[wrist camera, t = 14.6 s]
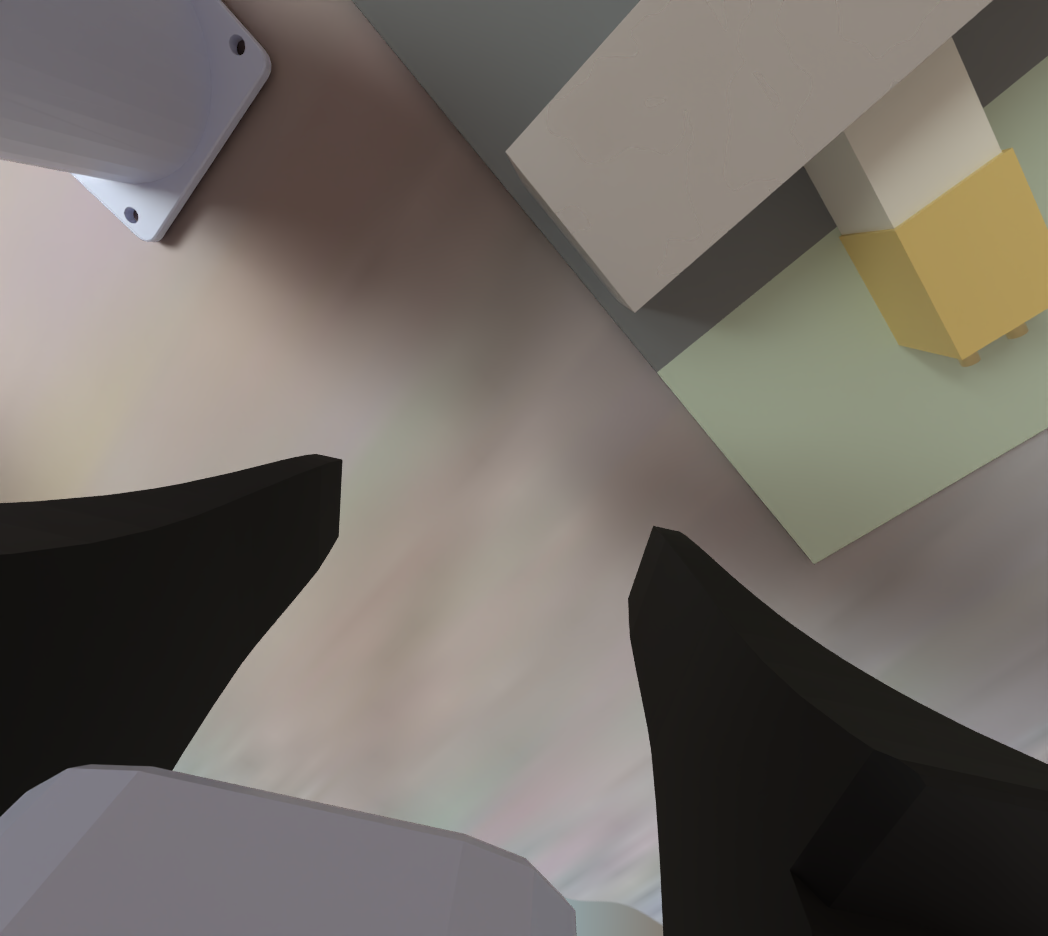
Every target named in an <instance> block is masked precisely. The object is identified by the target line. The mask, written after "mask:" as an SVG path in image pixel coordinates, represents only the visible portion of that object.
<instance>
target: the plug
mask: <svg viewBox="0 0 1048 936" xmlns="http://www.w3.org/2000/svg"><path fill="white" fill-rule="evenodd" d="M804 168H805V169H806V171H807V173H808V175H809V177H810V178H811V180H812V182H813V184H814V186H815V187H816V189H817V191H818V193H819V195H820V196H821V198H822V200H823V202H824V204H825V206H826V207H827V209H828V211H829V213H830V215H831V216H832V218H833V220H834V222H835V224H836V225H837V227H838V229H839V231H840V233H841V234H842V235H841V236H840V237H839V238H840V240H841V242H842V244H843V245H844V247H845V249H846V251H847V253H848V254H849V256H850V258H851V260H852V262H853V263H854V265H855V267H856V269H857V271H858V272H859V274H860V276H861V278H862V280H863V281H864V283H865V285H866V287H867V289H868V291H869V292H870V294H871V296H872V298H873V300H874V301H875V303H876V305H877V307H878V309H879V310H880V312H881V314H882V316H883V318H884V319H885V321H886V323H887V325H888V327H889V328H890V330H891V332H892V334H893V336H894V337H895V339H896V341H897V343H898V345H900V346H904V347H909V348H913V349H917V350H922V351H926V352H930V353H934V354H939V355H943V356H947V357H951V358H956V359H958V361H959V363H960V365H961V366H962V367H968V366H972V365H974V364H976V363H978V362H979V361H980V360H981V358H980V356H979V354H978V352H977V351H978V350H980V349H981V348H983V347H985V346H986V345H988V344H990V343H991V342H993V341H995V340H996V339H998V338H1000V337H1001V336H1003V335H1006V337H1007V338H1008V339H1015V338H1018V337H1021V336H1023V335H1025V334H1026V333H1028V331H1029V330H1028V328H1027V325H1026V323H1025V322H1026V321H1028V320H1030V319H1031V318H1033V317H1035V316H1036V315H1038V314H1039V313H1041V312H1043V311H1044V310H1046V309H1048V229H1047V227H1046V224H1045V222H1044V220H1043V217H1042V215H1041V213H1040V210H1039V208H1038V206H1037V203H1036V201H1035V199H1034V196H1033V194H1032V192H1031V189H1030V187H1029V185H1028V182H1027V180H1026V178H1025V175H1024V173H1023V171H1022V168H1021V166H1020V164H1019V161H1018V159H1017V157H1016V154H1015V152H1014V150H1013V147H1012V148H1008V149H1005V150H1001V149H1000V146H999V144H998V142H997V140H996V137H995V135H994V133H993V130H992V128H991V126H990V124H989V121H988V119H987V117H986V114H985V112H984V110H983V107H982V105H981V103H980V101H979V98H978V96H977V94H976V91H975V89H974V87H973V85H972V82H971V80H970V78H969V75H968V73H967V71H966V68H965V66H964V64H963V62H962V59H961V57H960V55H959V52H958V50H957V48H956V46H955V43H954V41H953V39H952V36H951V37H950V38H949V39H948V40H947V41H946V42H944V43H943V44H942V45H941V46H940V47H939V48H938V49H936V50H935V51H934V52H933V53H932V54H931V55H930V56H928V57H927V58H926V59H925V60H924V61H923V62H922V63H920V64H919V65H918V66H917V67H916V68H915V69H914V70H912V71H911V72H910V73H909V74H908V75H907V76H906V77H904V78H903V79H902V80H901V81H900V82H899V83H898V84H896V85H895V86H894V87H893V88H892V89H891V90H889V91H888V92H887V93H886V94H885V95H884V96H883V97H881V98H880V99H879V100H878V101H877V102H876V103H875V104H873V105H872V106H871V107H870V108H869V109H868V110H867V111H865V112H864V113H863V114H862V115H861V116H860V117H859V118H857V119H856V120H855V121H854V122H853V123H852V124H851V125H849V126H848V127H847V128H846V129H845V130H844V131H843V132H841V133H840V134H839V135H838V136H837V137H836V138H835V139H833V140H832V141H831V142H830V143H829V144H828V145H826V146H825V147H824V148H823V149H822V150H821V151H820V152H818V153H817V154H816V155H815V156H814V157H813V158H812V159H810V160H809V161H808V162H807V163H806V164H805V165H804Z"/></svg>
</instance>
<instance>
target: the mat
mask: <svg viewBox="0 0 1048 936" xmlns="http://www.w3.org/2000/svg"><path fill="white" fill-rule="evenodd" d="M352 1H353V2H354V4H355V5H356V6H357V7H358V8H359V10H360V11H361V12H362V13H363V15H364V16H365V17H366V18H367V19H368V21H369V22H370V23H371V24H372V26H373V27H374V28H375V29H376V30H377V32H378V33H379V34H380V35H381V36H382V38H383V39H384V40H385V41H386V43H387V44H388V45H389V46H390V47H391V49H392V50H393V51H394V52H395V54H396V55H397V56H398V57H399V58H400V60H401V61H402V62H403V63H404V65H405V66H406V67H407V68H408V69H409V71H410V72H411V73H412V74H413V76H414V77H415V78H416V79H417V80H418V82H419V83H420V84H421V85H422V87H423V88H424V89H425V90H426V91H427V93H428V94H429V95H430V96H431V98H432V99H433V100H434V101H435V102H436V104H437V105H438V106H439V107H440V108H441V110H442V111H443V112H444V113H445V115H446V116H447V117H448V118H449V119H450V121H451V122H452V123H453V124H454V126H455V127H456V128H457V129H458V130H459V132H460V133H461V134H462V135H463V137H464V138H465V139H466V140H467V141H468V143H469V144H470V145H471V146H472V148H473V149H474V150H475V151H476V152H477V154H478V155H479V156H480V157H481V159H482V160H483V161H484V162H485V163H486V165H487V166H488V167H489V168H490V170H491V171H492V172H493V173H494V174H495V176H496V177H497V178H498V179H499V180H500V182H501V183H502V184H503V185H504V187H505V188H506V189H507V190H508V191H509V193H510V194H511V195H512V196H513V198H514V199H515V200H516V201H517V202H518V204H519V205H520V206H521V207H522V209H523V210H524V211H525V212H526V213H527V215H528V216H529V217H530V218H531V220H532V221H533V222H534V223H535V224H536V226H537V227H538V228H539V229H540V231H541V232H542V233H543V234H544V235H545V237H546V238H547V239H548V240H549V242H550V243H551V244H552V245H553V246H554V248H555V249H556V250H557V251H558V252H559V254H560V255H561V256H562V257H563V259H564V260H565V261H566V262H567V263H568V265H569V266H570V267H571V268H572V270H573V271H574V272H575V273H576V274H577V276H578V277H579V278H580V279H581V281H582V282H583V283H584V284H585V285H586V287H587V288H588V289H589V290H590V292H591V293H592V294H593V295H594V296H595V298H596V299H597V300H598V301H599V303H600V304H601V305H602V306H603V307H604V309H605V310H606V311H607V312H608V314H609V315H610V316H611V317H612V318H613V320H614V321H615V322H616V323H617V324H618V326H619V327H620V328H621V329H622V331H623V332H624V333H625V334H626V335H627V337H628V338H629V339H630V340H631V342H632V343H633V344H634V345H635V346H636V348H637V349H638V350H639V351H640V353H641V354H642V355H643V356H644V357H645V359H646V360H647V361H648V362H649V364H650V365H651V366H652V367H653V368H654V370H655V371H656V372H657V373H658V375H659V376H660V377H661V378H662V379H663V381H664V382H665V383H666V384H667V386H668V387H669V388H670V389H671V390H672V392H673V393H674V394H675V395H676V396H677V398H678V399H679V400H680V401H681V403H682V404H683V405H684V406H685V407H686V409H687V410H688V411H689V412H690V414H691V415H692V416H693V417H694V418H695V420H696V421H697V422H698V423H699V425H700V426H701V427H702V428H703V429H704V431H705V432H706V433H707V434H708V436H709V437H710V438H711V439H712V440H713V442H714V443H715V444H716V445H717V447H718V448H719V449H720V450H721V451H722V453H723V454H724V455H725V456H726V458H727V459H728V460H729V461H730V462H731V464H732V465H733V466H734V467H735V468H736V470H737V471H738V472H739V473H740V475H741V476H742V477H743V478H744V479H745V481H746V482H747V483H748V484H749V486H750V487H751V488H752V489H753V490H754V492H755V493H756V494H757V495H758V497H759V498H760V499H761V500H762V501H763V503H764V504H765V505H766V506H767V508H768V509H769V510H770V511H771V512H772V514H773V515H774V516H775V517H776V519H777V520H778V521H779V522H780V523H781V525H782V526H783V527H784V528H785V530H786V531H787V532H788V533H789V534H790V536H791V537H792V538H793V539H794V540H795V542H796V543H797V544H798V545H799V547H800V548H801V549H802V550H803V551H804V553H805V554H806V555H807V556H808V558H809V559H810V560H811V561H812V562H813V564H815V563H817V562H819V561H821V560H822V559H824V558H826V557H827V556H829V555H831V554H833V553H834V552H836V551H838V550H839V549H841V548H843V547H845V546H846V545H848V544H850V543H851V542H853V541H855V540H857V539H858V538H860V537H862V536H863V535H865V534H867V533H869V532H870V531H872V530H874V529H875V528H877V527H879V526H880V525H882V524H884V523H886V522H887V521H889V520H891V519H892V518H894V517H896V516H898V515H899V514H901V513H903V512H904V511H906V510H908V509H910V508H911V507H913V506H915V505H916V504H918V503H920V502H922V501H923V500H925V499H927V498H928V497H930V496H932V495H934V494H935V493H937V492H939V491H940V490H942V489H944V488H946V487H947V486H949V485H951V484H952V483H954V482H956V481H958V480H959V479H961V478H963V477H964V476H966V475H968V474H969V473H971V472H973V471H975V470H976V469H978V468H980V467H981V466H983V465H985V464H987V463H988V462H990V461H992V460H993V459H995V458H997V457H999V456H1000V455H1002V454H1004V453H1005V452H1007V451H1009V450H1011V449H1012V448H1014V447H1016V446H1017V445H1019V444H1021V443H1023V442H1024V441H1026V440H1028V439H1029V438H1031V437H1033V436H1035V435H1036V434H1038V433H1040V432H1041V431H1043V430H1045V429H1046V428H1048V309H1046V310H1044V311H1043V312H1041V313H1039V314H1038V315H1036V316H1035V317H1033V318H1031V319H1030V320H1028V321H1026V322H1025V323H1026V325H1027V328H1028V330H1029V331H1028V333H1026V334H1025V335H1023V336H1021V337H1018V338H1015V339H1008V338H1007V337H1006V335H1003V336H1001V337H1000V338H998V339H996V340H995V341H993V342H991V343H990V344H988V345H986V346H985V347H983V348H981V349H980V350H978V351H977V352H978V354H979V356H980V358H981V360H980V361H979V362H978V363H976V364H974V365H972V366H968V367H962V366H961V365H960V363H959V361H958V359H956V358H951V357H947V356H943V355H939V354H934V353H930V352H926V351H922V350H917V349H913V348H909V347H904V346H900V345H898V343H897V341H896V339H895V337H894V336H893V334H892V332H891V330H890V328H889V327H888V325H887V323H886V321H885V319H884V318H883V316H882V314H881V312H880V310H879V309H878V307H877V305H876V303H875V301H874V300H873V298H872V296H871V294H870V292H869V291H868V289H867V287H866V285H865V283H864V281H863V280H862V278H861V276H860V274H859V272H858V271H857V269H856V267H855V265H854V263H853V262H852V260H851V258H850V256H849V254H848V253H847V251H846V249H845V247H844V245H843V244H842V242H841V240H840V238H839V237H840V236H841V235H842V234H841V233H840V231H839V229H838V227H837V225H836V224H835V222H834V220H833V218H832V216H831V215H830V213H829V211H828V209H827V207H826V206H825V204H824V202H823V200H822V198H821V196H820V195H819V193H818V191H817V189H816V187H815V186H814V184H813V182H812V180H811V178H810V177H809V175H808V173H807V171H806V169H805V168H804V166H802V167H801V168H800V169H799V170H798V171H797V172H796V173H794V174H793V175H792V176H791V177H790V178H789V179H788V180H786V181H785V182H784V183H783V184H782V185H781V186H780V187H778V188H777V189H776V190H775V191H774V192H773V193H772V194H770V195H769V196H768V197H767V198H766V199H765V200H763V201H762V202H761V203H760V204H759V205H758V206H757V207H755V208H754V209H753V210H752V211H751V212H750V213H749V214H747V215H746V216H745V217H744V218H743V219H742V220H741V221H739V222H738V223H737V224H736V225H735V226H734V227H733V228H731V229H730V230H729V231H728V232H727V233H726V234H725V235H723V236H722V237H721V238H720V239H719V240H718V241H717V242H715V243H714V244H713V245H712V246H711V247H710V248H709V249H707V250H706V251H705V252H704V253H703V254H702V255H700V256H699V257H698V258H697V259H696V260H695V261H694V262H692V263H691V264H690V265H689V266H688V267H687V268H686V269H684V270H683V271H682V272H681V273H680V274H679V275H678V276H676V277H675V278H674V279H673V280H672V281H671V282H670V283H668V284H667V285H666V286H665V287H664V288H663V289H662V290H660V291H659V292H658V293H657V294H656V295H655V296H654V297H652V298H651V299H650V300H649V301H648V302H647V303H646V304H644V305H643V306H642V307H641V308H640V309H639V310H637V311H636V312H635V313H634V312H633V311H631V310H630V309H628V308H627V307H625V306H624V305H623V304H621V303H620V302H618V301H617V300H616V299H615V298H614V296H613V295H612V294H611V293H610V291H609V290H608V289H607V288H606V286H605V285H604V284H603V283H602V281H601V280H600V279H599V278H598V276H597V275H596V274H595V273H594V272H593V270H592V269H591V268H590V267H589V265H588V264H587V263H586V262H585V260H584V259H583V258H582V257H581V255H580V254H579V253H578V252H577V250H576V249H575V248H574V247H573V246H572V244H571V243H570V242H569V241H568V239H567V238H566V237H565V236H564V234H563V233H562V232H561V231H560V229H559V228H558V227H557V226H556V225H555V223H554V222H553V221H552V220H551V218H550V217H549V216H548V215H547V213H546V212H545V211H544V210H543V208H542V207H541V206H540V205H539V203H538V202H537V201H536V200H535V199H534V197H533V196H532V195H531V194H530V192H529V191H528V190H527V189H526V187H525V186H524V185H523V183H522V181H521V180H520V178H519V176H518V174H517V172H516V170H515V168H514V167H513V165H512V163H511V161H510V159H509V157H508V156H507V154H506V150H507V149H508V148H509V147H510V146H511V145H512V144H513V143H514V141H515V140H516V139H517V138H518V137H519V136H520V135H521V134H522V132H523V131H524V130H525V129H526V128H527V127H528V126H529V125H530V124H531V122H532V121H533V120H534V119H535V118H536V117H537V116H538V115H539V113H540V112H541V111H542V110H543V109H544V108H545V107H546V106H547V104H548V103H549V102H550V101H551V100H552V99H553V98H554V97H555V95H556V94H557V93H558V92H559V91H560V90H561V89H562V88H563V87H564V85H565V84H566V83H567V82H568V81H569V80H570V79H571V78H572V76H573V75H574V74H575V73H576V72H577V71H578V70H579V69H580V67H581V66H582V65H583V64H584V63H585V62H586V61H587V60H588V58H589V57H590V56H591V55H592V54H593V53H594V52H595V51H596V50H597V48H598V47H599V46H600V45H601V44H602V43H603V42H604V41H605V39H606V38H607V37H608V36H609V35H610V34H611V33H612V32H613V30H614V29H615V28H616V27H617V26H618V25H619V24H620V23H621V21H622V20H623V19H624V18H625V17H626V16H627V15H628V14H629V13H630V11H631V10H632V9H633V8H634V7H635V6H636V5H637V4H638V2H639V1H640V0H352ZM952 39H953V41H954V43H955V46H956V48H957V50H958V52H959V55H960V57H961V59H962V62H963V64H964V66H965V68H966V71H967V73H968V75H969V78H970V80H971V82H972V85H973V87H974V89H975V91H976V94H977V96H978V98H979V101H980V103H981V105H982V107H983V110H984V112H985V114H986V117H987V119H988V121H989V124H990V126H991V128H992V130H993V133H994V135H995V137H996V140H997V142H998V144H999V146H1000V149H1001V150H1005V149H1008V148H1012V147H1013V150H1014V152H1015V154H1016V157H1017V159H1018V161H1019V164H1020V166H1021V168H1022V171H1023V173H1024V175H1025V178H1026V180H1027V182H1028V185H1029V187H1030V189H1031V192H1032V194H1033V196H1034V199H1035V201H1036V203H1037V206H1038V208H1039V210H1040V213H1041V215H1042V217H1043V220H1044V222H1045V224H1046V227H1047V229H1048V0H993V1H991V2H990V3H989V4H988V5H987V6H986V7H985V8H983V9H982V10H981V11H980V12H979V13H978V14H977V15H975V16H974V17H973V18H972V19H971V20H970V21H969V22H967V23H966V24H965V25H964V26H963V27H962V28H961V29H959V30H958V31H957V32H956V33H955V34H954V35H952Z"/></svg>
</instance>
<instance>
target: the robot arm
mask: <svg viewBox="0 0 1048 936" xmlns="http://www.w3.org/2000/svg"><path fill="white" fill-rule="evenodd" d="M241 40H244V42H245V51H244V53H243V54H242V55H239V54H238V52H237V45H238V42H240V41H241ZM270 73H271V61H270V57H269V55H268V54H267V52H266V51H265V49H264V48H263V47H262V46H261V45H260V44H259V42H258V41H257V40H256V39H255V38H254V37H253V36H252V35H251V33H250V32H249V31H248V30H247V29H246V28H245V27H244V26H243V24H242V23H241V22H240V21H239V20H238V19H237V18H236V17H235V15H234V14H233V13H232V12H231V11H230V10H229V9H228V8H227V6H226V5H225V4H224V3H223V2H222V1H221V0H0V159H1V160H6V161H11V162H17V163H22V164H27V165H32V166H38V167H43V168H48V169H53V170H59V171H64V172H69V173H71V174H72V175H73V176H74V177H75V178H76V179H77V180H78V181H79V182H80V183H81V184H82V185H83V186H84V187H85V188H86V189H88V190H89V191H90V192H91V193H92V194H93V195H94V196H95V197H96V198H97V199H98V200H99V201H100V202H101V203H102V204H103V205H104V206H105V207H107V208H108V209H109V210H110V211H111V212H112V213H113V214H114V215H115V216H116V217H117V218H118V219H119V220H120V221H121V222H122V223H123V224H125V225H126V226H127V227H128V228H129V229H130V230H131V231H132V232H133V233H134V234H135V235H136V236H137V237H138V238H140V239H141V240H143V241H147V242H157V241H160V240H161V239H162V238H163V236H164V235H165V233H166V232H167V230H168V229H169V227H170V226H171V224H172V223H173V221H174V220H175V218H176V217H177V215H178V214H179V212H180V211H181V209H182V208H183V206H184V204H185V203H186V201H187V200H188V198H189V197H190V195H191V194H192V192H193V191H194V189H195V188H196V186H197V185H198V183H199V182H200V180H201V179H202V177H203V176H204V174H205V173H206V171H207V170H208V168H209V167H210V165H211V164H212V162H213V161H214V159H215V158H216V156H217V155H218V153H219V152H220V150H221V148H222V147H223V145H224V144H225V142H226V141H227V139H228V138H229V136H230V135H231V133H232V132H233V130H234V129H235V127H236V126H237V124H238V123H239V121H240V120H241V118H242V117H243V115H244V114H245V112H246V111H247V109H248V108H249V106H250V105H251V103H252V102H253V100H254V99H255V97H256V96H257V94H258V93H259V91H260V89H261V88H262V86H263V85H264V83H265V82H266V80H267V79H268V77H269V75H270ZM134 210H136V212H137V213H138V217H139V218H138V222H137V221H136V220H135V219H134V215H133V212H134ZM341 477H342V459H337V458H332V457H328V456H323V455H318V454H312V455H304V456H299V457H294V458H290V459H285V460H281V461H277V462H273V463H269V464H265V465H261V466H257V467H253V468H249V469H245V470H241V471H237V472H233V473H228V474H224V475H219V476H215V477H210V478H205V479H201V480H196V481H192V482H187V483H183V484H177V485H172V486H166V487H161V488H155V489H148V490H141V491H134V492H127V493H120V494H112V495H104V496H93V497H82V498H70V499H59V500H48V501H36V502H17V503H0V936H576V916H575V910H574V909H573V907H572V906H571V905H570V904H569V903H568V902H567V900H566V899H565V898H564V897H563V896H562V895H561V894H560V893H559V892H558V891H557V890H556V889H555V888H554V887H553V886H552V885H551V883H550V882H549V881H548V880H547V879H546V878H545V877H544V876H543V875H542V874H541V873H540V872H539V871H538V870H537V869H536V868H535V867H534V866H533V865H532V864H531V863H530V862H529V861H528V860H527V859H526V858H524V857H521V856H519V855H516V854H514V853H511V852H509V851H506V850H504V849H501V848H499V847H496V846H494V845H491V844H489V843H486V842H484V841H481V840H479V839H476V838H474V837H471V836H468V835H466V834H462V833H458V832H453V831H449V830H444V829H439V828H435V827H430V826H425V825H421V824H416V823H412V822H407V821H402V820H398V819H393V818H388V817H384V816H379V815H375V814H370V813H365V812H361V811H356V810H351V809H347V808H342V807H337V806H333V805H328V804H324V803H319V802H314V801H310V800H305V799H300V798H296V797H291V796H287V795H282V794H277V793H273V792H268V791H263V790H259V789H254V788H250V787H245V786H240V785H236V784H231V783H226V782H222V781H217V780H213V779H208V778H203V777H199V776H194V775H189V774H185V773H180V772H175V771H172V770H173V769H174V767H175V765H176V764H177V762H178V760H179V759H180V757H181V755H182V754H183V752H184V751H185V749H186V747H187V746H188V744H189V743H190V741H191V740H192V738H193V736H194V735H195V733H196V732H197V730H198V729H199V727H200V725H201V724H202V722H203V721H204V719H205V718H206V716H207V714H208V713H209V711H210V710H211V708H212V707H213V705H214V704H215V702H216V701H217V699H218V698H219V696H220V695H221V693H222V692H223V690H224V689H225V687H226V686H227V684H228V683H229V681H230V680H231V678H232V677H233V676H234V674H235V673H236V671H237V670H238V668H239V667H240V665H241V664H242V662H243V661H244V660H245V659H246V657H247V656H248V655H249V653H250V652H251V651H252V649H253V648H254V647H255V646H256V644H257V643H258V642H259V641H260V640H261V638H262V637H263V636H264V635H265V634H266V632H267V631H268V630H269V629H270V628H271V626H272V625H273V624H274V623H275V622H276V621H277V619H278V618H279V617H280V616H281V615H282V613H283V612H284V611H285V610H286V609H287V607H288V606H289V605H290V604H291V603H292V601H293V600H294V599H295V598H296V597H297V595H298V594H299V593H300V592H301V591H302V589H303V588H304V587H305V586H306V585H307V583H308V582H309V581H310V580H311V578H312V577H313V576H314V575H315V573H316V572H317V571H318V570H319V568H320V566H321V565H322V563H323V562H324V560H325V559H326V557H327V555H328V554H329V552H330V550H331V549H332V547H333V545H334V543H335V542H336V540H337V538H338V537H339V518H340V498H341ZM628 606H629V628H630V640H631V645H632V651H633V656H634V661H635V667H636V672H637V677H638V682H639V687H640V692H641V697H642V702H643V707H644V712H645V717H646V722H647V727H648V733H649V740H650V746H651V753H652V764H653V775H654V786H655V797H656V810H657V825H658V839H659V854H660V872H661V893H662V914H663V936H1048V764H1046V763H1044V762H1041V761H1039V760H1037V759H1035V758H1033V757H1030V756H1028V755H1026V754H1024V753H1022V752H1019V751H1017V750H1015V749H1013V748H1011V747H1008V746H1006V745H1004V744H1002V743H1000V742H997V741H995V740H993V739H991V738H989V737H986V736H984V735H982V734H980V733H977V732H975V731H973V730H971V729H969V728H967V727H965V726H963V725H961V724H959V723H957V722H955V721H953V720H951V719H949V718H947V717H945V716H944V715H942V714H940V713H938V712H936V711H934V710H932V709H930V708H928V707H926V706H924V705H922V704H920V703H918V702H916V701H914V700H913V699H911V698H909V697H907V696H905V695H903V694H902V693H900V692H898V691H896V690H894V689H893V688H891V687H889V686H887V685H885V684H884V683H882V682H880V681H879V680H877V679H875V678H874V677H872V676H870V675H869V674H867V673H865V672H863V671H862V670H860V669H858V668H857V667H855V666H853V665H852V664H850V663H848V662H847V661H845V660H844V659H842V658H840V657H839V656H837V655H836V654H834V653H833V652H831V651H829V650H828V649H826V648H825V647H823V646H822V645H821V644H819V643H818V642H816V641H815V640H813V639H812V638H810V637H809V636H807V635H806V634H805V633H803V632H802V631H800V630H799V629H797V628H796V627H794V626H793V625H792V624H790V623H789V622H788V621H786V620H785V619H784V618H782V617H781V616H780V615H778V614H777V613H776V612H775V611H773V610H772V609H771V608H770V607H768V606H767V605H766V604H765V603H763V602H762V601H761V600H760V599H758V598H757V597H756V596H755V595H753V594H752V593H751V592H750V591H749V590H748V589H746V588H745V587H744V586H743V585H742V584H740V583H739V582H738V581H737V580H736V579H735V578H734V577H732V576H731V575H730V574H729V573H728V572H727V571H726V570H725V569H723V568H722V567H721V566H720V565H719V564H718V563H717V562H716V561H714V560H713V559H712V558H711V557H710V556H709V555H708V554H707V553H706V552H704V551H703V550H702V549H701V548H700V547H699V546H698V545H696V544H695V543H694V542H693V541H692V540H691V539H689V538H688V537H687V536H685V535H684V534H683V533H681V532H679V531H674V530H670V529H665V528H660V527H656V526H653V528H652V531H651V534H650V537H649V540H648V543H647V546H646V548H645V551H644V554H643V557H642V560H641V563H640V566H639V569H638V572H637V575H636V577H635V580H634V583H633V586H632V589H631V592H630V595H629V598H628Z"/></svg>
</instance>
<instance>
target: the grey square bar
mask: <svg viewBox="0 0 1048 936" xmlns="http://www.w3.org/2000/svg"><path fill="white" fill-rule="evenodd" d="M991 1H993V0H640V1H639V2H638V4H637V5H636V6H635V7H634V8H633V9H632V10H631V11H630V13H629V14H628V15H627V16H626V17H625V18H624V19H623V20H622V21H621V23H620V24H619V25H618V26H617V27H616V28H615V29H614V30H613V32H612V33H611V34H610V35H609V36H608V37H607V38H606V39H605V41H604V42H603V43H602V44H601V45H600V46H599V47H598V48H597V50H596V51H595V52H594V53H593V54H592V55H591V56H590V57H589V58H588V60H587V61H586V62H585V63H584V64H583V65H582V66H581V67H580V69H579V70H578V71H577V72H576V73H575V74H574V75H573V76H572V78H571V79H570V80H569V81H568V82H567V83H566V84H565V85H564V87H563V88H562V89H561V90H560V91H559V92H558V93H557V94H556V95H555V97H554V98H553V99H552V100H551V101H550V102H549V103H548V104H547V106H546V107H545V108H544V109H543V110H542V111H541V112H540V113H539V115H538V116H537V117H536V118H535V119H534V120H533V121H532V122H531V124H530V125H529V126H528V127H527V128H526V129H525V130H524V131H523V132H522V134H521V135H520V136H519V137H518V138H517V139H516V140H515V141H514V143H513V144H512V145H511V146H510V147H509V148H508V149H507V150H506V154H507V156H508V157H509V159H510V161H511V163H512V165H513V167H514V168H515V170H516V172H517V174H518V176H519V178H520V180H521V181H522V183H523V185H524V186H525V187H526V189H527V190H528V191H529V192H530V194H531V195H532V196H533V197H534V199H535V200H536V201H537V202H538V203H539V205H540V206H541V207H542V208H543V210H544V211H545V212H546V213H547V215H548V216H549V217H550V218H551V220H552V221H553V222H554V223H555V225H556V226H557V227H558V228H559V229H560V231H561V232H562V233H563V234H564V236H565V237H566V238H567V239H568V241H569V242H570V243H571V244H572V246H573V247H574V248H575V249H576V250H577V252H578V253H579V254H580V255H581V257H582V258H583V259H584V260H585V262H586V263H587V264H588V265H589V267H590V268H591V269H592V270H593V272H594V273H595V274H596V275H597V276H598V278H599V279H600V280H601V281H602V283H603V284H604V285H605V286H606V288H607V289H608V290H609V291H610V293H611V294H612V295H613V296H614V298H615V299H616V300H617V301H618V302H620V303H621V304H623V305H624V306H625V307H627V308H628V309H630V310H631V311H633V312H634V313H635V312H636V311H637V310H639V309H640V308H641V307H642V306H643V305H644V304H646V303H647V302H648V301H649V300H650V299H651V298H652V297H654V296H655V295H656V294H657V293H658V292H659V291H660V290H662V289H663V288H664V287H665V286H666V285H667V284H668V283H670V282H671V281H672V280H673V279H674V278H675V277H676V276H678V275H679V274H680V273H681V272H682V271H683V270H684V269H686V268H687V267H688V266H689V265H690V264H691V263H692V262H694V261H695V260H696V259H697V258H698V257H699V256H700V255H702V254H703V253H704V252H705V251H706V250H707V249H709V248H710V247H711V246H712V245H713V244H714V243H715V242H717V241H718V240H719V239H720V238H721V237H722V236H723V235H725V234H726V233H727V232H728V231H729V230H730V229H731V228H733V227H734V226H735V225H736V224H737V223H738V222H739V221H741V220H742V219H743V218H744V217H745V216H746V215H747V214H749V213H750V212H751V211H752V210H753V209H754V208H755V207H757V206H758V205H759V204H760V203H761V202H762V201H763V200H765V199H766V198H767V197H768V196H769V195H770V194H772V193H773V192H774V191H775V190H776V189H777V188H778V187H780V186H781V185H782V184H783V183H784V182H785V181H786V180H788V179H789V178H790V177H791V176H792V175H793V174H794V173H796V172H797V171H798V170H799V169H800V168H801V167H802V166H804V165H805V164H806V163H807V162H808V161H809V160H810V159H812V158H813V157H814V156H815V155H816V154H817V153H818V152H820V151H821V150H822V149H823V148H824V147H825V146H826V145H828V144H829V143H830V142H831V141H832V140H833V139H835V138H836V137H837V136H838V135H839V134H840V133H841V132H843V131H844V130H845V129H846V128H847V127H848V126H849V125H851V124H852V123H853V122H854V121H855V120H856V119H857V118H859V117H860V116H861V115H862V114H863V113H864V112H865V111H867V110H868V109H869V108H870V107H871V106H872V105H873V104H875V103H876V102H877V101H878V100H879V99H880V98H881V97H883V96H884V95H885V94H886V93H887V92H888V91H889V90H891V89H892V88H893V87H894V86H895V85H896V84H898V83H899V82H900V81H901V80H902V79H903V78H904V77H906V76H907V75H908V74H909V73H910V72H911V71H912V70H914V69H915V68H916V67H917V66H918V65H919V64H920V63H922V62H923V61H924V60H925V59H926V58H927V57H928V56H930V55H931V54H932V53H933V52H934V51H935V50H936V49H938V48H939V47H940V46H941V45H942V44H943V43H944V42H946V41H947V40H948V39H949V38H950V37H951V36H952V35H954V34H955V33H956V32H957V31H958V30H959V29H961V28H962V27H963V26H964V25H965V24H966V23H967V22H969V21H970V20H971V19H972V18H973V17H974V16H975V15H977V14H978V13H979V12H980V11H981V10H982V9H983V8H985V7H986V6H987V5H988V4H989V3H990V2H991Z"/></svg>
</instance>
